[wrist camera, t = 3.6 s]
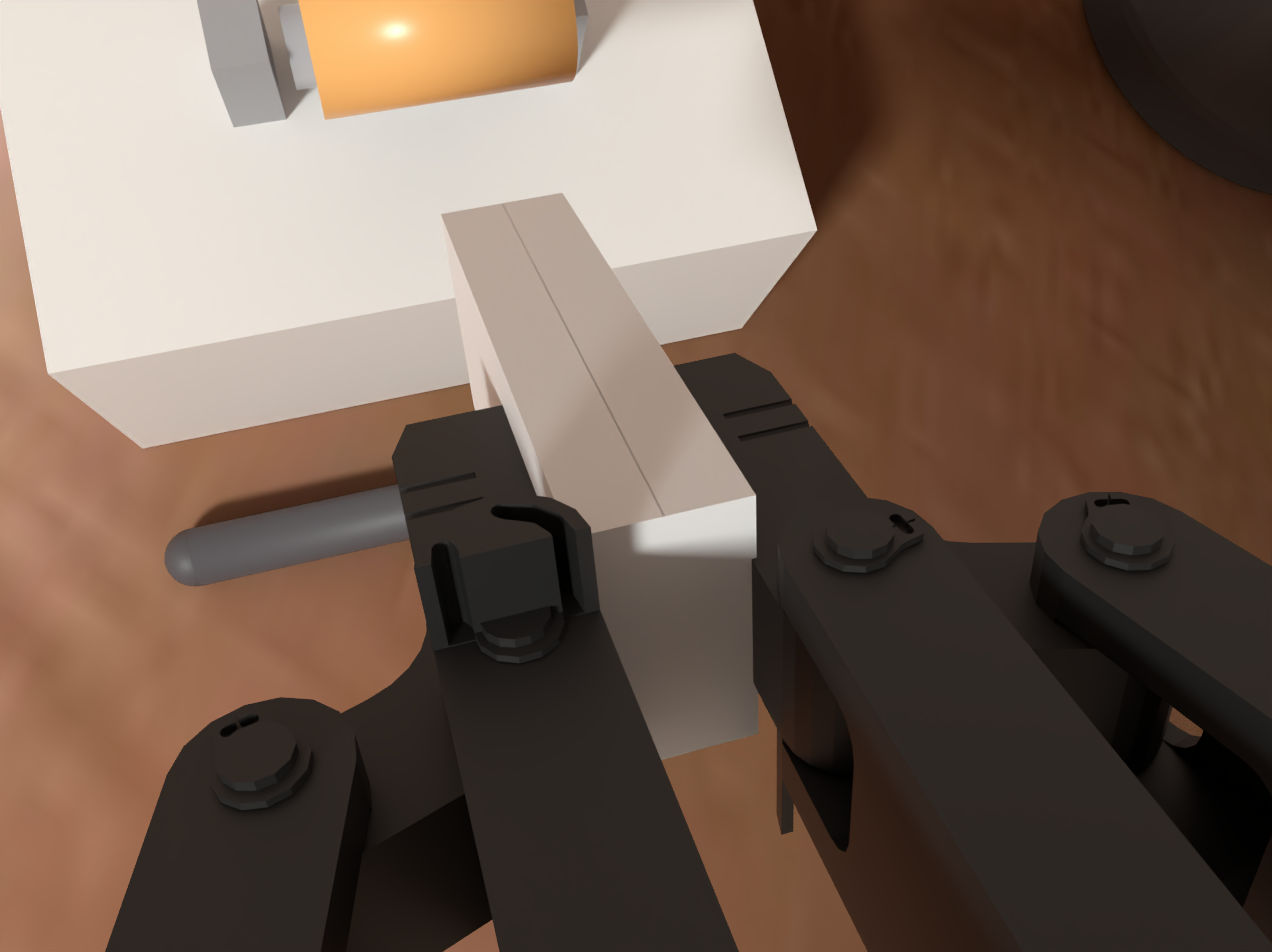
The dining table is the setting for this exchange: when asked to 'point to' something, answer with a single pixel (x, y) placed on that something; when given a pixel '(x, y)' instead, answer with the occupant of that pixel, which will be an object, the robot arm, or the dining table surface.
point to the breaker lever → (426, 50)
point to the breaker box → (357, 218)
